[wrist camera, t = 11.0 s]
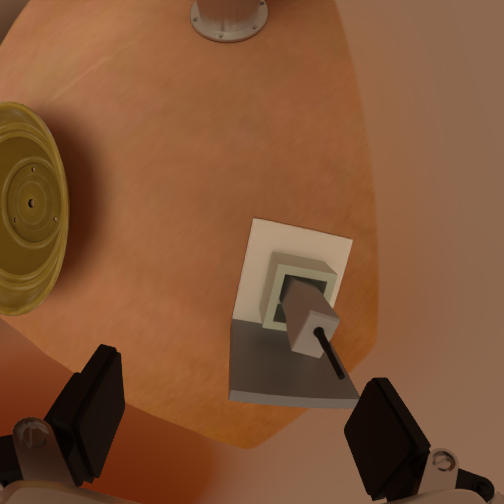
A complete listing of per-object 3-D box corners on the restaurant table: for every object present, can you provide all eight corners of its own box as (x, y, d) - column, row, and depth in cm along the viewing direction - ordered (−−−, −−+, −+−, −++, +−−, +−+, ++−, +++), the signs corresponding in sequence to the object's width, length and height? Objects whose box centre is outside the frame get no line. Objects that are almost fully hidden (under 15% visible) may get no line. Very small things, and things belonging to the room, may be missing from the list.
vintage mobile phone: (273, 293, 47) (306, 401, 22) (285, 265, 46) (334, 355, 21) (294, 300, 47) (342, 407, 23) (307, 273, 46) (371, 363, 22)
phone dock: (253, 217, 45) (264, 244, 26) (350, 238, 46) (412, 274, 28) (230, 323, 49) (228, 399, 30) (320, 336, 50) (356, 408, 32)
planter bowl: (128, 121, 40) (91, 103, 27) (98, 308, 47) (63, 345, 34) (-1, 112, 37) (-45, 105, 24) (-17, 263, 44) (-57, 282, 31)
